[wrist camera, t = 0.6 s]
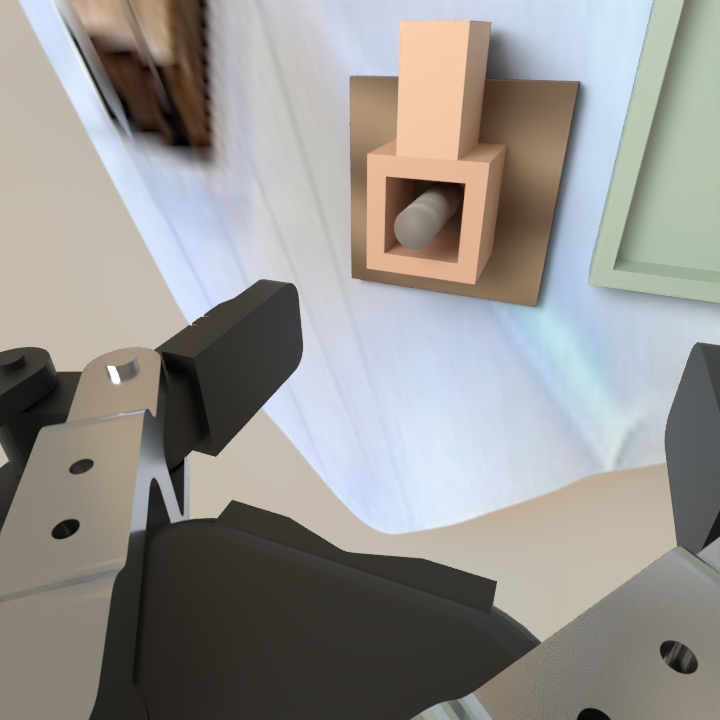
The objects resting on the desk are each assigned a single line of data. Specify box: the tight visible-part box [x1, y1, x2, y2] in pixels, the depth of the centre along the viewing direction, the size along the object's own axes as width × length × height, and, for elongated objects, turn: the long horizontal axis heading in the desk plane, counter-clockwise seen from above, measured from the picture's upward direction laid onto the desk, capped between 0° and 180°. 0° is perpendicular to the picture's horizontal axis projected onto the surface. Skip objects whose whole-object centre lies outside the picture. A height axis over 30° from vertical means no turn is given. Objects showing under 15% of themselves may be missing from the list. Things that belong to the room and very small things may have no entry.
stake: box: [350, 75, 579, 307], centre depth 29 cm, size 12×12×8 cm
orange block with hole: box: [367, 20, 506, 284], centre depth 27 cm, size 12×6×5 cm, turn 0°
